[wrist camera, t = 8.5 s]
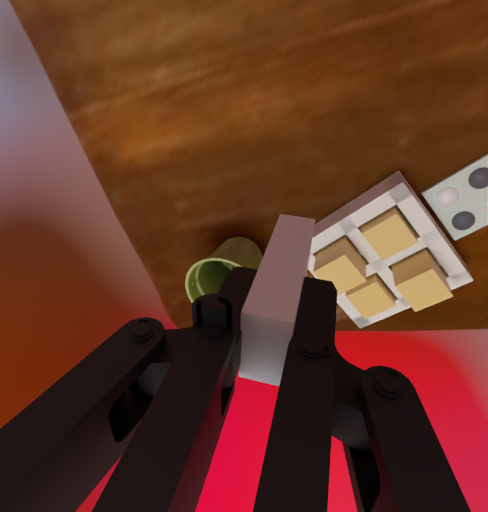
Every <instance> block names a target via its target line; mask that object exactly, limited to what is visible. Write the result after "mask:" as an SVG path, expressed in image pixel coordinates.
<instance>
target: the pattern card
mask: <svg viewBox="0 0 488 512" xmlns="http://www.w3.org/2000/svg"><path fill="white" fill-rule="evenodd" d="M421 193H422V195H423V196H424V198H425V199H426V201H427V202H428V204H429V205H430V206H431V208H432V209H433V211H434V212H435V213H436V215H437V216H438V218H439V219H440V221H441V222H442V223H443V225H444V226H445V228H446V229H447V230H448V232H449V233H450V235H451V236H452V238H453V239H454V240H457V239H459V238H461V237H464V236H466V235H468V234H470V233H472V232H474V231H476V230H478V229H480V228H482V227H484V226H486V225H488V153H487V154H486V155H484V156H482V157H480V158H479V159H477V160H475V161H474V162H472V163H470V164H469V165H467V166H465V167H463V168H462V169H460V170H458V171H457V172H455V173H453V174H452V175H450V176H448V177H446V178H445V179H443V180H441V181H440V182H438V183H436V184H434V185H433V186H431V187H429V188H428V189H426V190H424V191H423V192H421Z"/></svg>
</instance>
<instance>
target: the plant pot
mask: <svg viewBox="0 0 488 512" xmlns="http://www.w3.org/2000/svg"><path fill="white" fill-rule="evenodd" d="M262 259H263V255H262V253H261V251H260V249H259V247H258V245H257V244H256V243H254V242H253V241H252V240H250V239H248V238H245V237H233V238H230V239H228V240H226V241H225V242H224V243H223V244H222V245H221V246H220V247H219V248H218V249H217V250H216V251H215V252H214V253H212V254H211V255H210V256H209V257H208V258H205V259H202V260H200V261H198V262H197V263H195V264H194V265H193V266H192V267H191V268H190V270H189V271H188V273H187V276H186V281H185V286H186V291H187V294H188V297H189V299H190V300H191V302H192V303H193V302H194V300H195V299H196V298H198V297H200V296H202V295H205V294H210V293H218V291H219V290H220V287H221V285H222V283H223V282H224V280H225V278H226V276H227V274H228V272H230V271H231V270H232V269H233V267H237V266H240V267H246V268H252V269H259V266H260V264H261V261H262Z"/></svg>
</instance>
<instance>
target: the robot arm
mask: <svg viewBox="0 0 488 512" xmlns="http://www.w3.org/2000/svg"><path fill="white" fill-rule="evenodd" d="M314 224H315V219H311V218H304V217H297V216H290V215H283V214H280V216H279V219H278V221H277V224H276V226H275V229H274V231H273V234H272V236H271V239H270V241H269V244H268V246H267V249H266V251H265V254H264V256H263V259H262V261H261V264H260V266H259V269H252V268H246V267H240V266H237V267H235V268H234V269H232V270H231V271H230V272H228V274H227V276H226V278H225V280H224V282H223V283H222V285H221V287H220V290H219V291H218V293H210V294H205V295H202V296H200V297H198V298H196V299H195V300H194V302H193V303H192V317H193V326H192V327H188V328H183V329H171V330H170V329H169V330H165V329H164V327H163V325H162V323H161V322H159V321H158V320H156V319H153V318H149V317H148V318H138V319H134V320H131V321H130V322H128V323H126V324H125V325H123V326H122V327H121V328H120V329H119V330H117V331H116V332H115V333H114V334H113V335H112V336H110V337H109V338H108V339H107V340H106V341H104V342H103V343H102V344H101V345H100V346H98V347H97V348H96V349H95V350H94V351H93V352H91V353H90V354H89V355H88V356H87V357H85V358H84V359H83V360H82V361H81V362H80V363H78V364H77V365H76V366H75V367H74V368H72V369H71V370H70V371H69V372H68V373H66V374H65V375H64V376H63V377H62V378H60V379H59V380H58V381H57V382H56V383H54V384H53V385H52V386H51V387H50V388H48V389H47V390H46V391H45V392H44V393H43V394H41V395H40V396H39V397H38V398H37V399H36V400H34V401H33V402H32V403H31V404H30V405H28V406H27V407H26V408H25V409H24V410H22V411H21V412H20V413H19V414H18V415H16V416H15V417H14V418H13V419H12V420H10V421H9V422H8V423H7V424H6V425H4V426H3V427H2V428H1V429H0V512H75V511H76V510H77V509H78V508H79V506H80V505H81V504H82V503H83V502H84V500H85V499H86V498H87V497H88V495H89V494H90V493H91V492H92V491H93V489H94V488H95V487H96V485H98V483H99V482H100V481H101V480H102V478H103V477H104V476H105V475H106V474H107V472H108V471H109V470H110V469H111V467H112V466H113V465H114V464H115V463H116V462H117V460H118V459H119V458H120V457H121V455H122V454H123V455H122V457H121V459H120V460H119V462H118V464H117V466H116V468H115V470H114V472H113V473H112V475H111V477H110V479H109V481H108V482H107V484H106V486H105V488H104V490H103V492H102V494H101V495H100V497H99V499H98V501H97V503H96V505H95V506H94V508H93V510H92V512H195V510H196V507H197V504H198V501H199V498H200V495H201V492H202V489H203V485H204V483H205V479H206V477H207V473H208V471H209V468H210V464H211V461H212V458H213V455H214V452H215V449H216V446H217V443H218V440H219V437H220V434H221V431H222V427H223V425H224V422H225V419H226V415H227V412H228V409H229V406H230V403H231V400H232V397H233V394H234V390H235V378H236V375H237V372H238V370H239V377H243V378H247V379H251V380H255V381H260V382H264V383H268V384H272V385H277V386H279V391H278V395H277V400H276V405H275V410H274V415H273V419H272V424H271V429H270V433H269V438H268V443H267V447H266V452H265V457H264V462H263V466H262V472H261V476H260V481H259V485H258V490H257V495H256V499H255V504H254V509H253V512H327V503H328V485H329V468H330V467H329V466H330V449H331V435H332V436H334V437H335V438H337V439H338V440H340V441H342V442H343V447H344V452H345V457H346V461H347V465H348V470H349V474H350V479H351V484H352V488H353V493H354V497H355V502H356V506H357V511H358V512H471V511H470V509H469V507H468V504H467V502H466V500H465V498H464V496H463V493H462V491H461V489H460V487H459V484H458V482H457V480H456V478H455V476H454V473H453V471H452V469H451V467H450V465H449V463H448V460H447V458H446V456H445V454H444V451H443V449H442V447H441V445H440V443H439V440H438V438H437V436H436V434H435V432H434V429H433V427H432V425H431V423H430V421H429V419H428V416H427V414H426V412H425V410H424V408H423V405H422V403H421V401H420V399H419V397H418V394H417V392H416V390H415V388H414V386H413V385H412V383H411V382H410V380H409V379H408V378H406V377H405V376H404V375H403V374H402V373H401V372H398V371H397V370H394V369H392V368H390V367H385V366H374V367H370V368H369V369H367V370H365V371H364V370H362V369H360V368H358V367H356V366H354V365H352V364H350V363H349V362H347V361H346V360H345V359H344V358H343V357H341V355H340V354H339V353H338V351H337V349H336V347H335V341H334V339H335V322H336V306H337V289H336V288H335V286H334V284H333V282H332V281H327V280H321V279H315V278H310V277H306V275H307V269H308V262H309V256H310V250H311V243H312V237H313V230H314Z"/></svg>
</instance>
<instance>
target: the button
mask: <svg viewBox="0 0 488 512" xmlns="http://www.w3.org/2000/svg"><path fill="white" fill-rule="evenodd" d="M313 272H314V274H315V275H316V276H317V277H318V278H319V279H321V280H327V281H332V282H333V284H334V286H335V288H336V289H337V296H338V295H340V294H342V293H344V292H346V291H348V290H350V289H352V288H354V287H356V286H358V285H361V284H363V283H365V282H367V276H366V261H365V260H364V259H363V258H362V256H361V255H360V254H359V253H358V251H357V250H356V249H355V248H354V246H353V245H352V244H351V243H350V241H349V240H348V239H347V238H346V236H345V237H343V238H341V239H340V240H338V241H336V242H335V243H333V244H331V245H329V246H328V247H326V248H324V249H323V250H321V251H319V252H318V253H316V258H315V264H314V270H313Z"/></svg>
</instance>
